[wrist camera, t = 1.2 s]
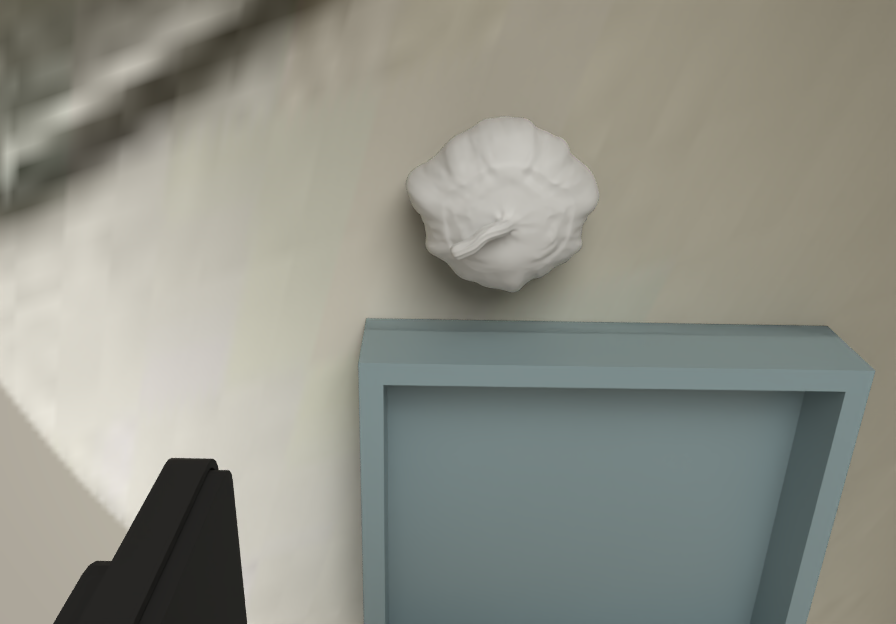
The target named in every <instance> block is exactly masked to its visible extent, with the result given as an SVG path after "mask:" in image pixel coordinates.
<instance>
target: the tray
mask: <svg viewBox="0 0 896 624" xmlns="http://www.w3.org/2000/svg"><path fill="white" fill-rule="evenodd" d="M358 369H359V416H360V462H361V509H362V556H363V603H364V624H806V621H807V618H808V614H809V610H810V607H811V603H812V599H813V596H814V592H815V588H816V585H817V581H818V577H819V574H820V570H821V567H822V563H823V559H824V556H825V552H826V548H827V545H828V541H829V537H830V534H831V530H832V526H833V523H834V519H835V516H836V512H837V508H838V505H839V501H840V497H841V494H842V490H843V486H844V483H845V479H846V476H847V472H848V468H849V465H850V461H851V457H852V454H853V450H854V446H855V443H856V439H857V435H858V432H859V428H860V425H861V421H862V417H863V414H864V410H865V406H866V403H867V399H868V395H869V392H870V388H871V384H872V381H873V377H874V374H875V370H874V369H873V368H872V367H871V366H870V365H869V364H867V363H866V362H865V361H864V360H863V359H862V358H861V357H860V356H859V355H858V354H857V353H856V352H855V351H854V350H852V349H851V348H850V347H849V346H848V345H847V344H846V343H845V342H844V341H843V340H842V339H841V338H840V337H839V336H837V335H836V334H835V333H834V332H833V331H832V330H831V329H830V328H829V327H828V326H796V325H735V324H674V323H614V322H553V321H493V320H432V319H372V318H366V324H365V329H364V335H363V340H362V346H361V351H360V357H359V362H358Z"/></svg>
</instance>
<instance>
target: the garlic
mask: <svg viewBox="0 0 896 624" xmlns="http://www.w3.org/2000/svg"><path fill="white" fill-rule="evenodd" d="M406 189H407V192H408V194H409V198H410V202H411V204H412V206H413V207H414V209H415V210H416V211H417V212H418V213H419V214H420V215H421V218H422V221H423V223H424V224H425V232H426V241H425V245H426V248H427V250H428V251H429V253H431V254H432V255H434V256H436V257H438V258H440V259H442V260H443V261H445V262H447V263H448V265H449V266H450V267H451V268H452V269H453V271H454V272H455V273H456V274H457V275H458V276H459V277H461V278H462V279H465V280H467V281H473V282H476V283H478V284H480V285H482V286H485V287H488V288H495V289H501V290H505V291H508V292H517V291H519V290H520V289H521V288H522V287H523V286H524V285H525V284H526V283H527V282H529V281H530V280H532V279H534V278H540V277H542V276H544V275H545V274H547V273H549V272H550V271H551V270H552V269H553V268H555V267H556V266H558V265H560V264H563V263H565V262H567V261H568V260H569V259H570V258H571V256H573V255H574V254H575V253H577V252H578V251H579V250H580V249H581V247H582V240H581V235H582V226H583V224H584V222H585V221H586V220H587V217H588V215H589V214H590V213H591V212H592V211H593V210H594V209H595V207H596V205H597V203H598V200H599V191H598V186H597V183H596V180H595V178H594V175H593V173H592V172H591V170H590V169H589V168H588V167H587V166H586V165H585V164H584V163H582V162H581V161H580V160H579V159H578V158H576V157H575V156H574V155H573V154H572V153H571V152H570V149H569V146H568V144H567V142H566V141H565V140H564V139H563V138H561V137H558V136H554V135H553V134H551V133H550V132H548V131H545V130H542V129H539V128H537V127H536V126H535V125H534V124H533V123H532V122H531V121H530V120H528V119H526V118H522V117H509V116H502V117H498V118H487V119H484V120H482V121H480V122H478V123H477V124H476V125H475V126H473V127H472V128H470V129H468V130H466V131H465V132H463V133H460V134H458V135H456V136H454V137H453V138H452V139H450V140H449V141H448V142H447V143H446V144H445V145H444V146H443V148H442V149H441V150H440V151H439V152H438V153H437V154H436V155H435V156H434V157H433V158H431V159H430V160H428V161H427V162H425V163H423V164H421V165H419V166H418V167H416V168H415V169H414V170H412V171H411V172H410V174H409V175H408V177H407V180H406Z"/></svg>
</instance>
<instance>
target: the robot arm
mask: <svg viewBox="0 0 896 624" xmlns="http://www.w3.org/2000/svg"><path fill="white" fill-rule="evenodd" d="M53 624H247V617H246V607H245V597H244V588H243V578H242V568H241V558H240V548H239V538H238V528H237V518H236V508H235V498H234V488H233V479H232V474H231V472H230V471H229V470H218V465H217V463H216V461H215V460H214V459H194V458H171V459H169V460H168V461H167V462H166V464H165V465H164V467H163V469H162V471H161V473H160V474H159V476H158V478H157V480H156V482H155V483H154V485H153V487H152V489H151V491H150V492H149V494H148V496H147V498H146V500H145V502H144V503H143V505H142V507H141V509H140V511H139V512H138V514H137V516H136V518H135V520H134V521H133V523H132V525H131V527H130V529H129V531H128V532H127V534H126V536H125V538H124V540H123V541H122V543H121V545H120V547H119V549H118V550H117V552H116V554H115V556H114V558H113V560H112V561H95V562H94V563H92V564H90V565H89V566H88V568H87V569H86V570H85V571H84V573H83V574H82V576H81V577H80V579H79V581H78V582H77V584H76V586H75V588H74V590H73V591H72V593H71V594H70V596H69V598H68V599H67V601H66V603H65V605H64V607H63V608H62V610H61V611H60V613H59V615H58V616H57V618H56V620H55V622H54V623H53Z"/></svg>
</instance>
